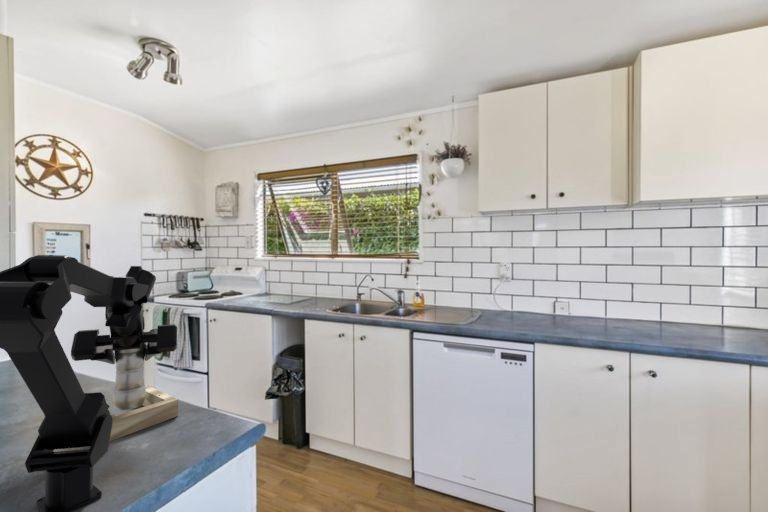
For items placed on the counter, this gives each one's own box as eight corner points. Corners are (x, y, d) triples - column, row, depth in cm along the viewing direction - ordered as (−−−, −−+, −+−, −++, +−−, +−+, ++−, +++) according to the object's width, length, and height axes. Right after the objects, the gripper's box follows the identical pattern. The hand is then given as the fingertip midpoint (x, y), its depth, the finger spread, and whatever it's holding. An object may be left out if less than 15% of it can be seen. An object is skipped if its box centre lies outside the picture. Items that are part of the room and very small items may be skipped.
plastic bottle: (148, 400, 88) (151, 318, 88) (141, 411, 82) (144, 323, 82) (117, 403, 86) (119, 319, 86) (107, 415, 80) (109, 325, 80)
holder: (178, 415, 86) (178, 399, 86) (109, 441, 74) (109, 422, 74) (148, 401, 94) (148, 386, 93) (81, 422, 82) (81, 405, 82)
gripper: (177, 290, 85) (176, 328, 95) (75, 293, 76) (85, 335, 85) (177, 330, 78) (176, 367, 88) (64, 338, 69) (76, 378, 79)
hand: (130, 360), depth 85 cm, fingers closed on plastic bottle, 6 cm apart
